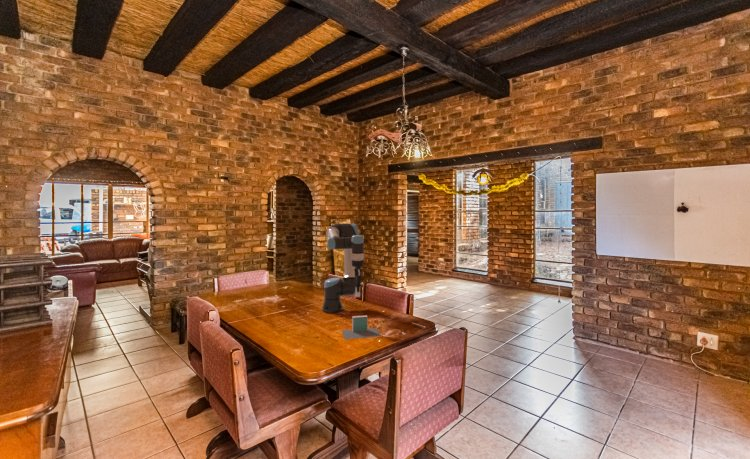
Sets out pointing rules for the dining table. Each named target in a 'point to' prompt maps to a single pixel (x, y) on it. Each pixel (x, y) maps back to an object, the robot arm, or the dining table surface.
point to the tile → (359, 323)
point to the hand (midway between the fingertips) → (357, 296)
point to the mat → (361, 333)
